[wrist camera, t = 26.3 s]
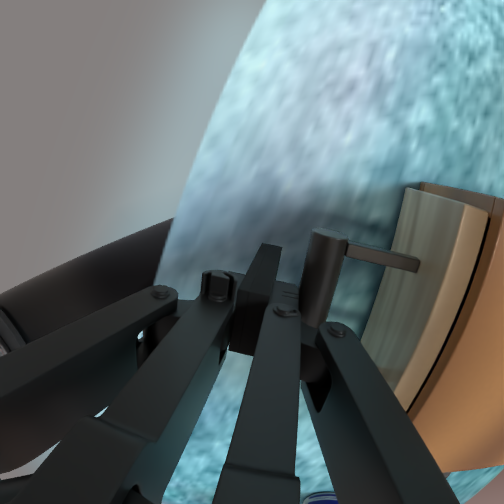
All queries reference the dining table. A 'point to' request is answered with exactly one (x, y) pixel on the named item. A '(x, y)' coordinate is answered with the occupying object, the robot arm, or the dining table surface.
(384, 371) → the drawer
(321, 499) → the energy drink
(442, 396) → the cabinet
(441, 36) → the dining table surface
